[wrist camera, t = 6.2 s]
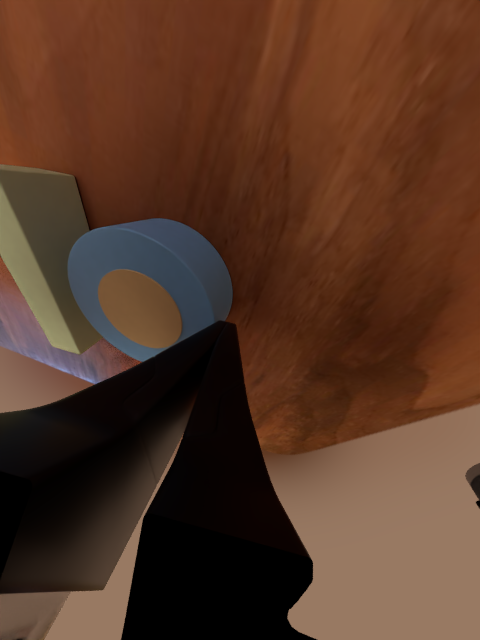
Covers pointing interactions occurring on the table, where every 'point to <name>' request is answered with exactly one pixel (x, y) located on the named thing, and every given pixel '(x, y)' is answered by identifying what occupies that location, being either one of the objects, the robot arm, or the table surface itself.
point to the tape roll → (148, 284)
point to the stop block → (45, 249)
